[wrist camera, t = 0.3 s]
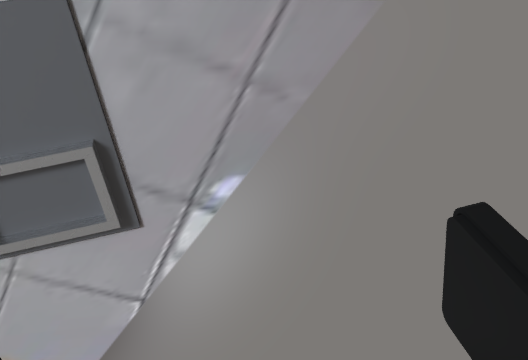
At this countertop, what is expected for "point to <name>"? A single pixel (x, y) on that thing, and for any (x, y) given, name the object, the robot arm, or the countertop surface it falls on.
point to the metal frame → (70, 228)
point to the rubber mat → (51, 123)
